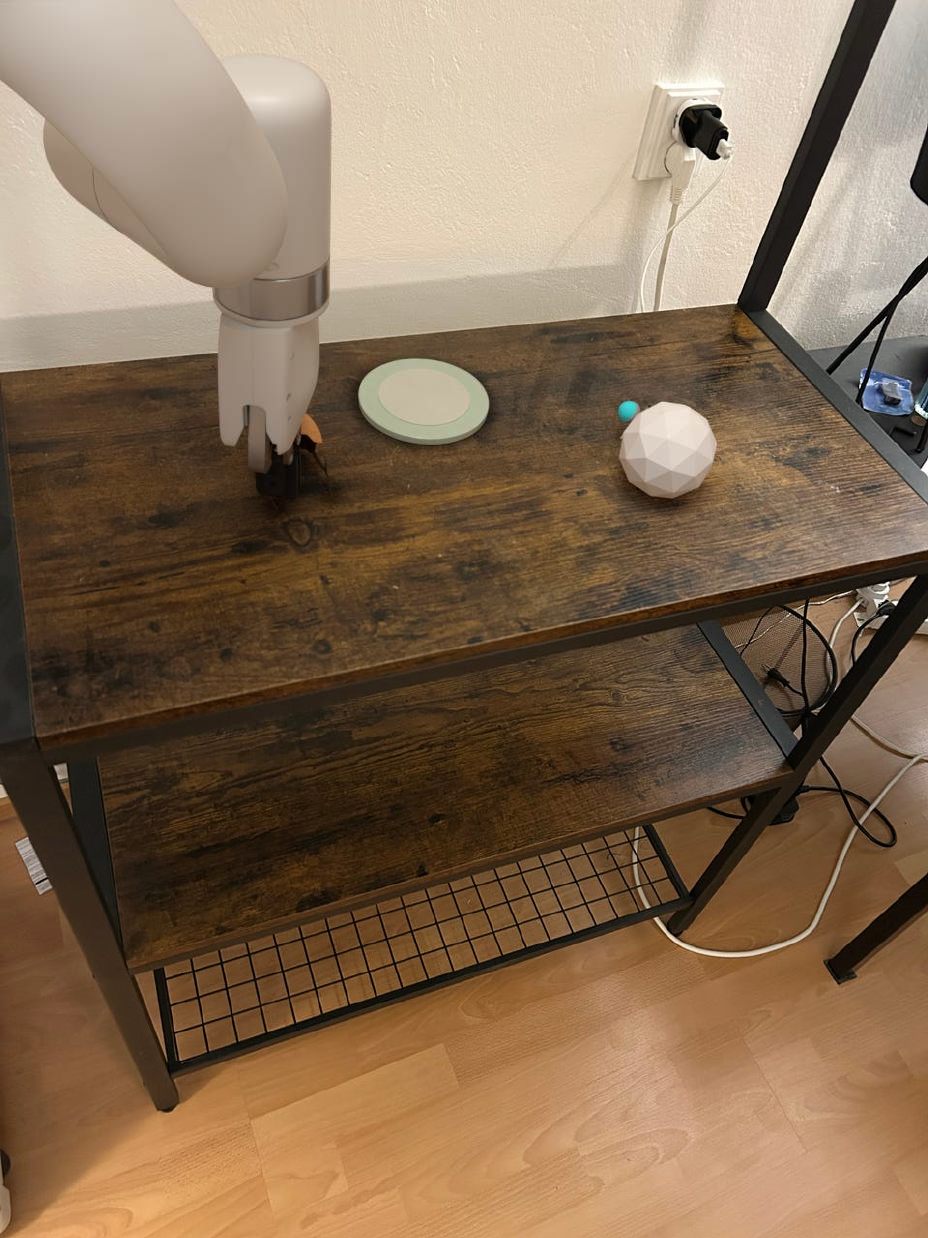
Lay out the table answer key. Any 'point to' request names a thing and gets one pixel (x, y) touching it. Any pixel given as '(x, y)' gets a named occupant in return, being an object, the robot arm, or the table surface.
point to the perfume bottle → (665, 448)
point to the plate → (423, 401)
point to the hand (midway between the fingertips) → (279, 489)
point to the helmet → (311, 443)
